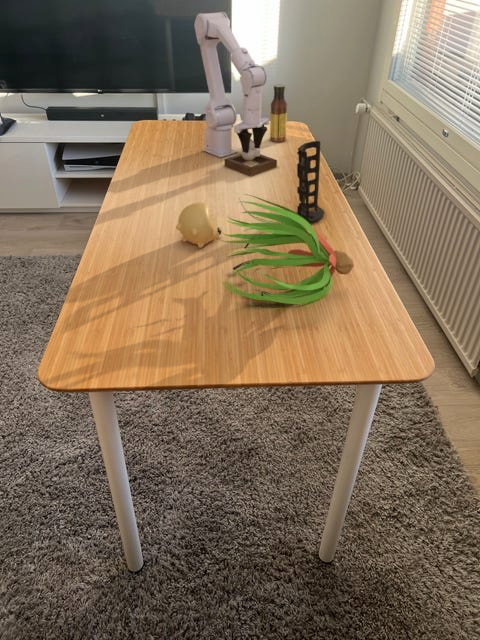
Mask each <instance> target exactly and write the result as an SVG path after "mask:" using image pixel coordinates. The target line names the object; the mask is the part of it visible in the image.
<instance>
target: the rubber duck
mask: <svg viewBox="0 0 480 640" xmlns="http://www.w3.org/2000/svg"><path fill="white" fill-rule="evenodd" d="M254 147H255V144H254V142H253V139H252V138H250V143H249V151H248V153H245V152H243V150H241V152H240V154H241V155H242V157H243V158H244V159H245V160H248V161H253V159H254V158H255V157H259V156H260V154H261V151H262V150H261V148H254Z"/></svg>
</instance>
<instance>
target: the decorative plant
mask: <svg viewBox="0 0 480 640" xmlns="http://www.w3.org/2000/svg"><path fill="white" fill-rule="evenodd" d="M244 196H248V197H253V198H254V199H255V198H256V199H258V200H260V201H262V202H265V203H267V204H270V205H267V204H263V203H260V202H259V203H258V202H253V201H243V200H241V199H240V198H238V199H239V202H238V201H237V204H238V203H239V204H241V206H242V208H243V209H244V211H242V212H241V214H247V215H249V216H250V217H252V218H253V219H255V220H257V221H260V222H252V223H251V222H246V221H241V220H238V219H233V218H231V217H229V216H228V215H226V216H227V218H228V219H229V220H228V219H227V218H224V220H226V222H228V223H230V224H232V225H236V226H239V227H244V228H246V229H244V230H243V232H245V231H249V230H250V231H251V230H255V231H259V232H260V233H235V234H227V233H224V232H223V231H222V230H221V234H223V235H224V236H226V237H229V238H235V239H239V240H223V239H220V241H221V242H222V243H229V244H245V246H240V247H239V246H238V247H235V248H228V249H225V248H224V249H223V248H222V249H221V250H223V251H229V250H230V251H231V250H238V249H244V250H238V251H235V252H231V253H227V254H225V256H226V258H232V257H237V256H245V255H250V254H254V253H255V254H256V253H259V254H261V255H264V256H269V257H280V258H252V259H251V260H247V261H244V262H241V263H239V264H237V265H235V266H233V267H232V270H233V271H234V272H232V273H231V276H232V275H236V274H238V275H239V277H240V278H242V281H246V282H248V283H250V284H251V285H254V286H258V287H260V288H264V289H269V290H270V289H271V290H278V291H284V292H277V293H271V292H267V291H265V290H260V289H253V288H252V289H251V290H252V291H251V290H250V291H251V292H252V293H251V292H247V291H248V289H247V290H245V291H242V290H240V289H238V288H237V287H235V286H234V285H233V284H232V283H230V282H229V281H227V283H228V284H229V285H230V286H231V287H230V286H228V285H227V284H226V283H224V282H222V281H221V280H222V279H220V283H221V284H222V285H223V286H224V287H226V289H228V290H229V291H231V292H233V293H235V294H237V295H239V296H243V297H245V298H249V299H253V300H259V301H269V302H270V301H271V302H275V303H274V305H275V304H276V305H277V304H278V303H279V304H288V305H296V306H291V307H289V306H288V307H270V308H269V307H267V309H270V310H287V309H288V310H289V309H296V308H301V307H306V306H309V305H312V304H314V303H317V302H318V301H321V300H322V299H324V297H326V296H327V295H328V294H329V293H330V291H331V289H332V286H333V280H332V277H333V276H334V273H335V271H336V272H337V274H339V275H348V274H350V273H351V271H352V270H353V268H354V267H355V264H354V260H353V259H352V257H350V255H348V254H347V253H346V252H344V251H342V250H337V249H335V250H334V249H333V247H331V245H330V243H328V241H326V239H325V238H324V237H323V236H322V235H321V234H320V233H319V232H318V230H317V229H315V228H314V227H313V226H312V224H310V223H309V222H308V221H307V220H306V219H304V218H303V217H302V216H300V215H299V214H298V212H296V211H294V210H291V209H290V208H288V207H285V206H283V205H280V204H278V203H274V202H272V201H269V200H266V199H263V198H260V197H258V196H255V195H251V194H247V193H244ZM243 203H244V204H250V205H253V206H256V207H259V208H262V209H265V210H268V211H269V212H265V211H254V210H251V211H250V210H247V209H246V208H245V206H244V205H243ZM270 211H271V212H270ZM258 216H259V217H262V218H259V217H258ZM263 218H266V219H269V220H266V219H263ZM230 220H231V221H230ZM271 220H272V221H271ZM217 237H218V236H217ZM218 238H219V237H218ZM240 239H241V240H240ZM290 244H305V245H306V246H307V247H308V249H309V251H308V250H303V249H298V248H297V249H296V248H295V249H290V250H288V251H287V252H283V251H281V252H280V251H272V250H270V249H267V248H265V247H275V246H281V245H290ZM249 245H250V246H249ZM216 246H217V248H219V247H218V245H216ZM246 249H247V250H246ZM257 266H262V267H266V268H262V267H261V268H260V267H259V268H256V269H254V273H255V272H257V271H258V270H262V269H265V270H266V269H267V267H271V268H270V270H275V269H281V268H282V269H283V267H290V268H293V267H294V268H295V267H304V268H320V267H322V268H320V269H319V270H318V271H316V273H315V274H312V275H311V276H309V277H307V278H305V279H303V280H302V281H299V282H296V283H286V282H283V281H280V280H278V279H275V278H273V277H271V276H270V275H268V274H267V273H266V274H265V273H263V277H266V278H268V279H270V280H271V281H273V282H275V283H276V284H270V283H263V282H260V281H256V280H253V279H251V278H249V276H247V275H246V274H245V270H248V269H251V268H254V267H257ZM272 267H273V268H272ZM240 272H243V274H244V275H243V274H241V273H240ZM285 290H286V291H285ZM253 291H257V292H259V293H253ZM216 293H218V291H216ZM244 304H245V305H246V303H244ZM244 304H243V305H244ZM298 304H299V305H298ZM255 305H256V304H254V303H252V306H253V307H254V308H255ZM263 305H267V303H264V304H263ZM256 308H259V309H260V307H258V306H257V307H256Z"/></svg>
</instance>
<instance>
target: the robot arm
mask: <svg viewBox="0 0 480 640" xmlns="http://www.w3.org/2000/svg"><path fill="white" fill-rule="evenodd" d="M193 26H194V31H195V36H196V41H197V44H198V45H199V49H200V54H201V59H202V63H203V69H204V73H205V78H206V84H207V88H208V93H209V97H210V100H209V101H208V103H207V104H206V106H205V108H204V109H205V121H206V125H207V127H206V129H205V133H204V136H205V137H204V139H205V142H204V143H205V144H204V145H205V148H204V149H203V151H204V152H206V153H207V154H210V155H213V156H216V157H218V158H223V157H226V156H230V155H233V154H236V153H237V150H234V149H232V130H233V132H234V133H235V134H236V135H237V137H238V139H239V142H240V145H241V149H242V150H243V152H245V153H248V151H249V143H250V138H251V137H252V138H253V139H252V138H251V139H252V141H253V142H254V144H255V147H254V149H256V148H259V149H261V145H262V141H263V138H264V136H265V134H266V133H267V131H268V127H267V126H268V125H269V126H270V118H269V117H262V99H263V96H262V95H263V86H265V84H266V82H267V79H268V77H267V76H268V75H267V72H266V69H265V67H264V66H262V65H259V64H258V63H256V62H255V60H254V59H253V58H252V56H251V55H250V53H249V51H248V49H247V48H246V47H241V46H240V44H239V42H238V40H237V38H236V37H235V35H234V32H233V31H232V29H231V20H230V19H229V17H228V15H227V13H226V12H224V11H219V12H207V13H202V12H201V13H197V15H196V18H195V21H194V25H193ZM219 43H221V44H223V46H224V47H225V48H226V49H227V51H228V52H229V53H230V54H231V56H230V61H231V63H232V64H233V66H234V68H235V69H236V71H237V72H238V73H239V75H240V76H239V81H240V84H241V87H242V88H241V91H242V94H243V115H242V116H243V117H242V118H243V119H242V121H241V122H239V123H237V124H236V122H237V118H238V115H237V111H236V109H235V107H234V103H233V101H232V100H231V99H230V98H229V97H227V96H226V90H225V86H224V82H223V81H224V80H223V77H222V71H221V66H220V65H221V64H220V62H219V56H218V51H217V46H218V44H219ZM235 124H236V125H235ZM232 128H233V129H232ZM249 130H252V132H249ZM242 150H241V151H242Z"/></svg>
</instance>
